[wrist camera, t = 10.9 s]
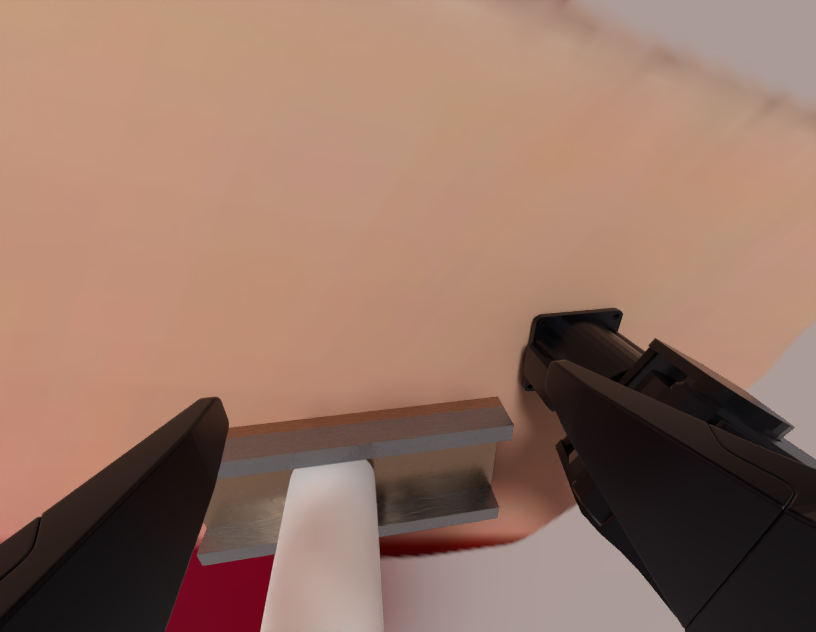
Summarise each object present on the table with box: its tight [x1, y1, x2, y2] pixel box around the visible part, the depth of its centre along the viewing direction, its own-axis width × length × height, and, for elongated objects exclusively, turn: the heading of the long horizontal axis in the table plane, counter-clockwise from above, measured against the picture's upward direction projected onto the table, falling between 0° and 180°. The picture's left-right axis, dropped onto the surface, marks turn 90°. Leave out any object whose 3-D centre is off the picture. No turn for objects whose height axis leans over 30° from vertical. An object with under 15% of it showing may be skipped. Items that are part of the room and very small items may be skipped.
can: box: [260, 460, 384, 632], centre depth 21 cm, size 6×6×12 cm
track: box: [197, 397, 514, 565], centre depth 26 cm, size 24×11×3 cm, turn 91°
